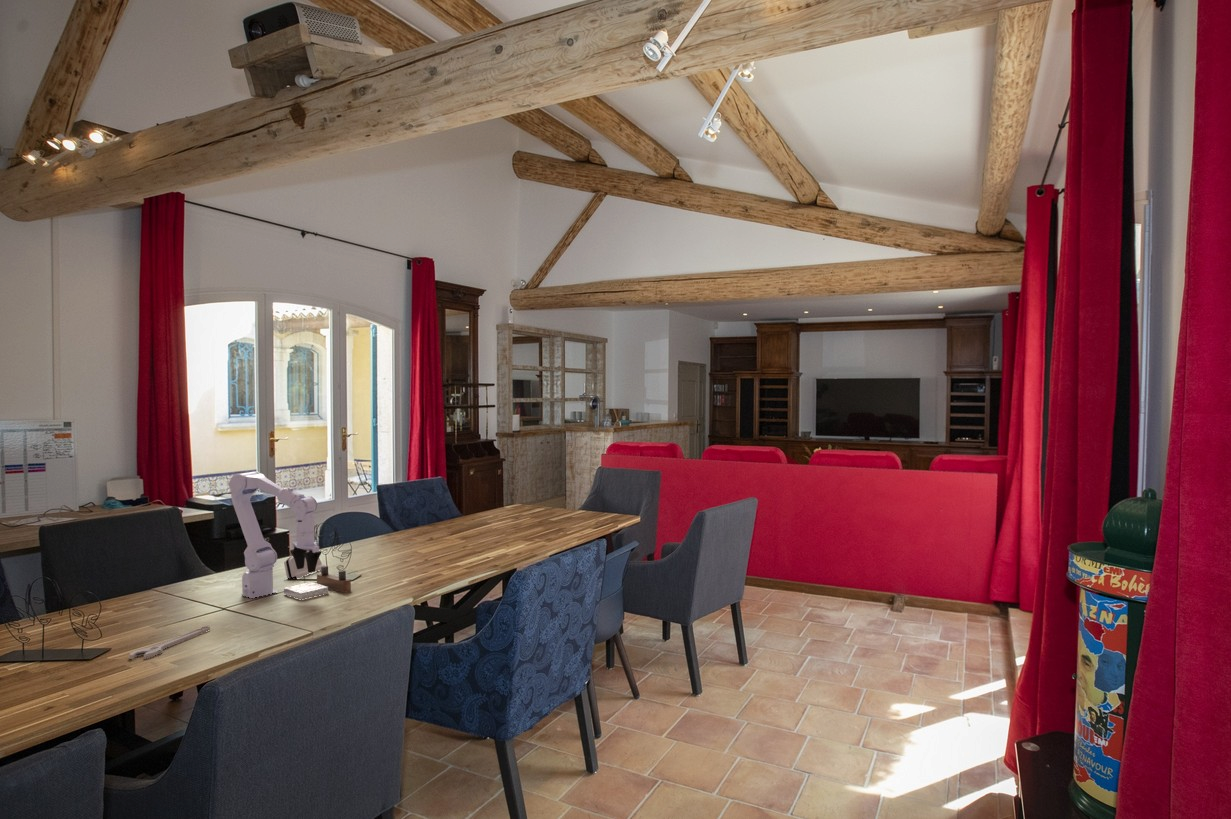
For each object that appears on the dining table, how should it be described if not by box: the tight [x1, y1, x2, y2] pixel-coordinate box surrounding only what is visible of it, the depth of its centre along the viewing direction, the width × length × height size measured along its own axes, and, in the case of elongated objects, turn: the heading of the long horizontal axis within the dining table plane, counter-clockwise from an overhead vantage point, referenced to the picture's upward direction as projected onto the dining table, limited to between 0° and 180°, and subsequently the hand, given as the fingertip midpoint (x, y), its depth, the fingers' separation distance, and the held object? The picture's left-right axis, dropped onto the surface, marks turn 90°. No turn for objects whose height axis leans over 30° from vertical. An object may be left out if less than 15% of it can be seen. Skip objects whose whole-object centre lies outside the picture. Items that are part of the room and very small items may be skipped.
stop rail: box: [316, 565, 352, 593], centre depth 259 cm, size 3×18×7 cm, turn 52°
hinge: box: [283, 550, 326, 579], centre depth 281 cm, size 17×5×10 cm, turn 164°
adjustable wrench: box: [129, 626, 211, 661], centre depth 201 cm, size 25×6×2 cm, turn 162°
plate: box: [283, 581, 329, 601], centre depth 251 cm, size 10×12×3 cm
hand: (306, 570), depth 248 cm, fingers open, 7 cm apart
